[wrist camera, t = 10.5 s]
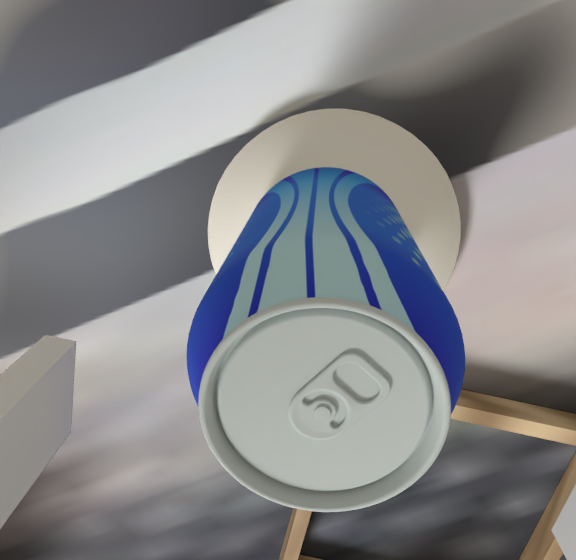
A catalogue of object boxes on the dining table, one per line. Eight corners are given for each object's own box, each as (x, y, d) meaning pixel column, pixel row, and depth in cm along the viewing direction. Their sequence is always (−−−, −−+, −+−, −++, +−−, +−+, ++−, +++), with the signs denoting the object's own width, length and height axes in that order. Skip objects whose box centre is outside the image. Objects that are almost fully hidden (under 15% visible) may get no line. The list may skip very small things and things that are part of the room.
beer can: (405, 301, 29) (488, 531, 14) (262, 314, 30) (198, 543, 15) (396, 153, 26) (490, 245, 11) (238, 173, 27) (128, 283, 12)
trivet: (196, 317, 31) (192, 324, 30) (232, 82, 26) (228, 82, 25) (414, 364, 31) (417, 373, 30) (492, 139, 26) (498, 141, 25)
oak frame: (278, 559, 38) (276, 584, 37) (333, 361, 32) (333, 378, 30) (507, 608, 39) (516, 635, 37) (609, 421, 32) (626, 441, 30)
